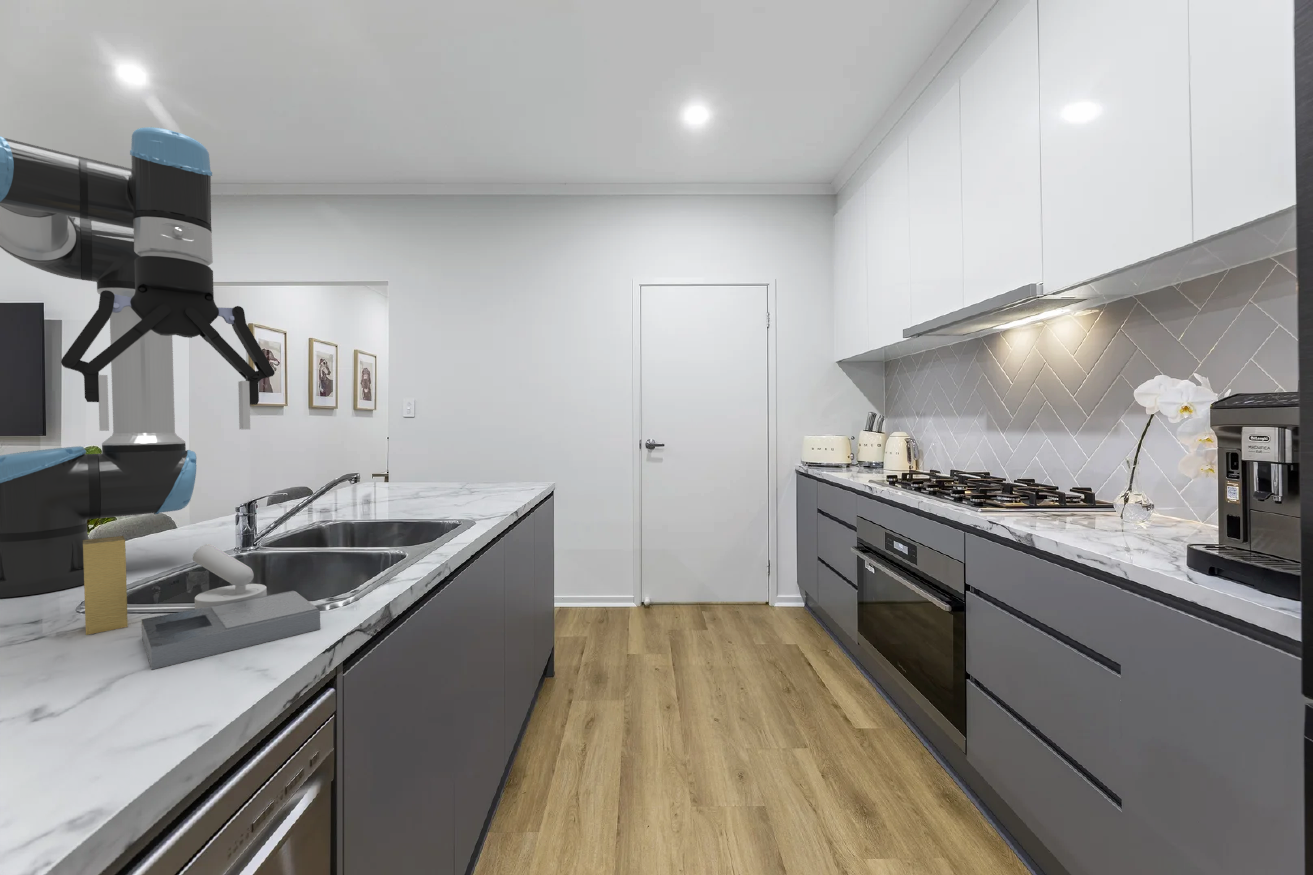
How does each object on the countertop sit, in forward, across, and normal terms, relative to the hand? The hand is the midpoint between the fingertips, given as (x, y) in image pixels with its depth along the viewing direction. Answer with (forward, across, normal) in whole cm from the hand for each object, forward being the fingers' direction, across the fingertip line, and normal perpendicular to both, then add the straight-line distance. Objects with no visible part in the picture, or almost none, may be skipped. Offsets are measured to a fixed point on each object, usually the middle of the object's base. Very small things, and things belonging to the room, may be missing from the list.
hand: (179, 430), depth 71 cm
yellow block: (+27, -7, +14) cm, 31 cm away
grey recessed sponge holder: (+27, +5, -2) cm, 27 cm away
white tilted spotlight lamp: (+27, +6, +11) cm, 30 cm away
